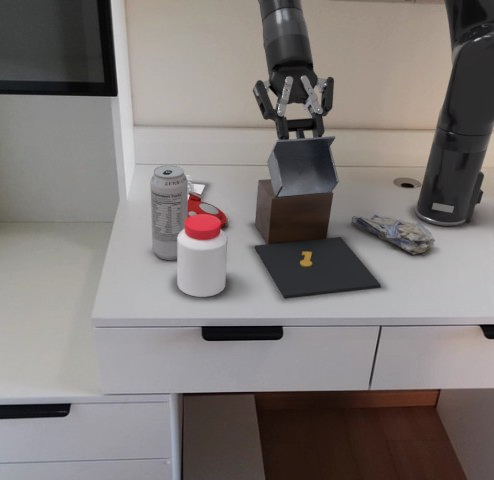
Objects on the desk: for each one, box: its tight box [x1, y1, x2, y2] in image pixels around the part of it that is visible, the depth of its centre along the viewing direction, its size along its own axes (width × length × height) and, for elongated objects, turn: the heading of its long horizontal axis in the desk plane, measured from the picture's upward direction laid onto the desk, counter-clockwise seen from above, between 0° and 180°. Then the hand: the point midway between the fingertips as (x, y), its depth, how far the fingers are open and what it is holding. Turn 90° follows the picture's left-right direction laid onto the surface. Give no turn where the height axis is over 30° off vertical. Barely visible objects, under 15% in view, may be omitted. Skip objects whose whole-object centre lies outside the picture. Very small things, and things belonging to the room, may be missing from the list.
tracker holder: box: [188, 191, 228, 229], centre depth 115 cm, size 12×4×10 cm
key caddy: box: [266, 117, 340, 198], centre depth 103 cm, size 12×10×6 cm
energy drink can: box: [149, 164, 188, 261], centre depth 102 cm, size 6×6×15 cm
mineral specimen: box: [350, 214, 436, 255], centre depth 110 cm, size 15×8×4 cm, turn 26°
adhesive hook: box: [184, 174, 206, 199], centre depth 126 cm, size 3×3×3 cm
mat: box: [254, 236, 382, 299], centre depth 103 cm, size 16×16×1 cm
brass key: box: [300, 251, 312, 267], centre depth 103 cm, size 5×2×1 cm, turn 163°
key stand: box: [254, 178, 334, 244], centre depth 110 cm, size 8×11×9 cm
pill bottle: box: [176, 214, 229, 298], centre depth 95 cm, size 8×8×11 cm
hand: (302, 139), depth 102 cm, fingers closed on key caddy, 5 cm apart
